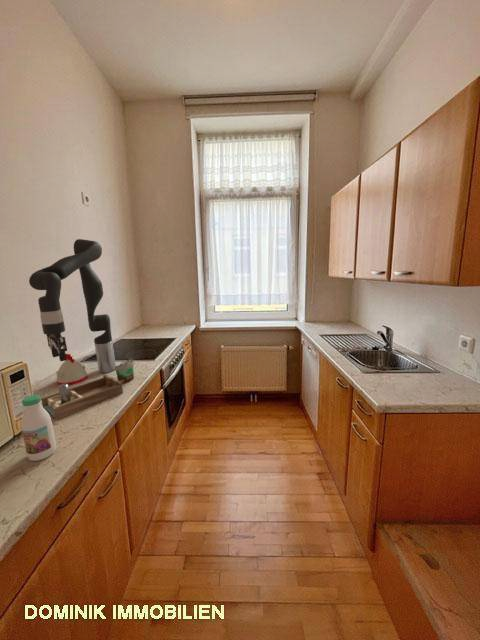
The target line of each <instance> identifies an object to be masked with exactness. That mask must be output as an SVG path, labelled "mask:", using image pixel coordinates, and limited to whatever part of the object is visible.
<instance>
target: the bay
mask: <svg viewBox="0 0 480 640" xmlns="http://www.w3.org/2000/svg"><path fill="white" fill-rule="evenodd" d="M71 390H73V391H75V392H76V393H78V394H79V395H81V396H82V397H84V398H81V399H79V400H76V401H73V402H71V403H68V404H65V405H63V406H60V407H58V408H55V409H54V410H53V409H52V408H51V407H50V406H49V405H48V401H47V399H48V398H51V397H54V396H57V395H59V392H57V393H53V394H50V395H48V396H44V397H41V401H42V402H41V405H42V406H43V408H44V409H45V410H46V411H47V412H48V413H49V415H50V417H52V418H53V419H55V421H58V420H60V419H63V418H64V417H68V416H70V415H72V414H74V413H77V412H80V411H83V410H84V409H87V408H89V407H92V406H94V405H96V404H99V403H103V402H104V401H106V400H109V399H111V398H114V397H117V396H119V395H122V394H123V393H124V391H123V383H122V382H120V381H118V379H115V378H114V377H112V376H109V375H107V374H104V375H103V376H102V377H101V378H97V379H94V380H91V381H89V382H86V383H83V384H79V385H77V386H74V387H71V388H69V391H71Z"/></svg>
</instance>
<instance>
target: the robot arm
mask: <svg viewBox="0 0 480 640" xmlns="http://www.w3.org/2000/svg"><path fill="white" fill-rule="evenodd" d="M102 252H103V248H102V245H101V244H100V243H99V242H98V241H96V240H91V239H90V240H88V239H80V238H78V239H76V240H74V243H73V255H68V256H64V257H62V258H60V259H58V260H57V261H55V262H54V263H52V264H51V265H50V266H46V267H44V268H41V269H39V270H36V271H34V272H33V273H32V274H31V275H30V277H29V280H28V283H29V285H30V287H31V288H32V289H35V290H36V291H45V294H44V295H43V296H41V297H40V296H39V298H38V308H39V312H40V322H41V327H42V331H43V334H44V335H46V340H47V346H48V347H49V349H50V351H51V355H52V358H57V357H59V361H60V362H65V360H66V354H67V353H66V352H68V347H67V341H66V337H65V336H62V333H64V332H65V331H66V327H65V322H64V321H65V320H64V315H63V311H62V308H61V302H60V298H61V290H62V281H63V280H65V279H67V278H69V276H70V275H72V274H73V273H74V272H76V271H77V270H79V275H80V281H81V286H82V293H83V295H84V300H85V306H86V312H87V322H88V327H89V331H91V332H93V333H94V332H102V331H104V332H103V333H102V334H100V335H98V336H95V337H94V340H93V342H94V348H95V354H96V361H97V369H98V372H99V373H100V374H101V373H102V374H105V373H106V374H107V373H111V372H114V371H116V370H115V366H117V365H116V358H115V350H114V342H113V337H112V328H111V327H112V326H111V318H110V315H109V314H108V313H107V314H106V313H105V314H104V313H103V314H95V311H96V309H97V307H98V305H99V303H100V302H101V300H102V298H103V296H104V291H103V289H104V287H103V283H102V280H101V279H100V277H99V276H98V275H97V274H96V272H95V271H94V270H93V267H92V266H91V264H90V263H92V262H95V261H97V260H99V259H100V258H101V256H102V254H103V253H102Z"/></svg>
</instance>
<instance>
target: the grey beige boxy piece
mask: <svg viewBox="0 0 480 640" xmlns="http://www.w3.org/2000/svg"><path fill="white" fill-rule="evenodd" d="M57 387H58V388H57V389H58V393H59V395H57V396H54V397H51V398H48V399H47V401H48V405H49V406H50V407H51V408H52V409H53V410H54V409H55V408H58V407H60V406H63V405H65V404H68V403H71V402H73V401H76V400H79V399H81V398H84V397H82V396H81V395H79V394H78V393H76V392H75V391H73V390H71V391H69V389H70V387H69V385H68V384H67V383H65V384H61V385H57Z"/></svg>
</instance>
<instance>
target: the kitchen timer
mask: <svg viewBox="0 0 480 640" xmlns="http://www.w3.org/2000/svg"><path fill="white" fill-rule="evenodd" d="M65 354H66V360H65V361H63V362H62V364H61V365H60V366H59V368H58V371H56V381H57V386H59V385H61V384H65V383H67V384H68V386H72V385H76V384H79V383H82V382H84V381H85V380H87V379H88V373H87V371H86V367H85V365H83V364H82V363H81V362H79V361H78V360H76V359H75V358H73V355H72V356H71V354H70V353H65Z"/></svg>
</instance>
